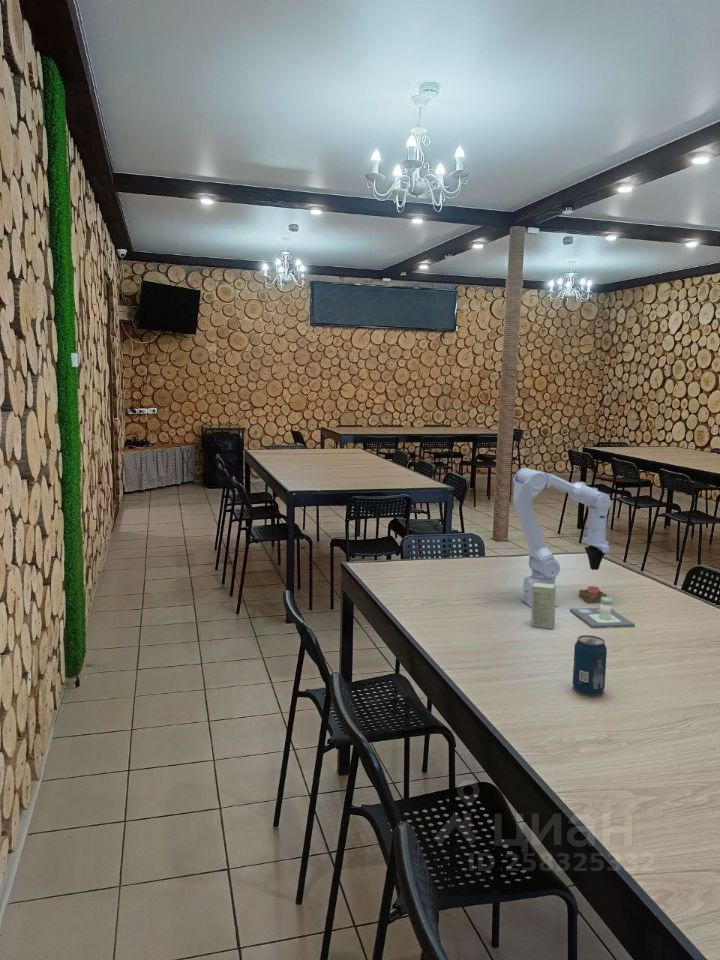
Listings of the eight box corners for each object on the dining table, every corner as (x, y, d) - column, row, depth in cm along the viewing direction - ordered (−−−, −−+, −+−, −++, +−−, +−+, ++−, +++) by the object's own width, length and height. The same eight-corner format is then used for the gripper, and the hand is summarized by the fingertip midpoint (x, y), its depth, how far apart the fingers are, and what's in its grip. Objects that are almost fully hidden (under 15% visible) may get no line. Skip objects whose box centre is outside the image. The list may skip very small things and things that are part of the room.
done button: (590, 598, 218) (590, 589, 218) (585, 595, 222) (585, 586, 221) (600, 598, 219) (601, 589, 218) (595, 594, 222) (595, 586, 222)
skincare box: (554, 625, 196) (557, 584, 195) (552, 629, 192) (554, 588, 191) (532, 621, 199) (534, 581, 197) (529, 626, 195) (531, 585, 193)
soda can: (579, 680, 158) (581, 632, 157) (608, 689, 154) (611, 639, 152) (567, 690, 153) (570, 640, 152) (597, 699, 149) (600, 647, 147)
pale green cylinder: (601, 619, 198) (603, 599, 197) (597, 615, 201) (599, 596, 201) (612, 619, 198) (614, 600, 198) (607, 616, 202) (609, 596, 201)
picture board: (592, 628, 194) (592, 625, 194) (569, 611, 209) (570, 608, 208) (634, 626, 195) (634, 623, 195) (609, 610, 210) (609, 607, 210)
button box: (587, 603, 217) (588, 595, 217) (579, 597, 223) (579, 589, 223) (606, 602, 218) (607, 595, 217) (597, 596, 224) (597, 589, 224)
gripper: (619, 532, 211) (617, 575, 212) (598, 523, 225) (595, 563, 227) (598, 533, 210) (595, 575, 212) (577, 524, 224) (575, 563, 226)
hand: (594, 569), depth 219 cm, fingers closed
